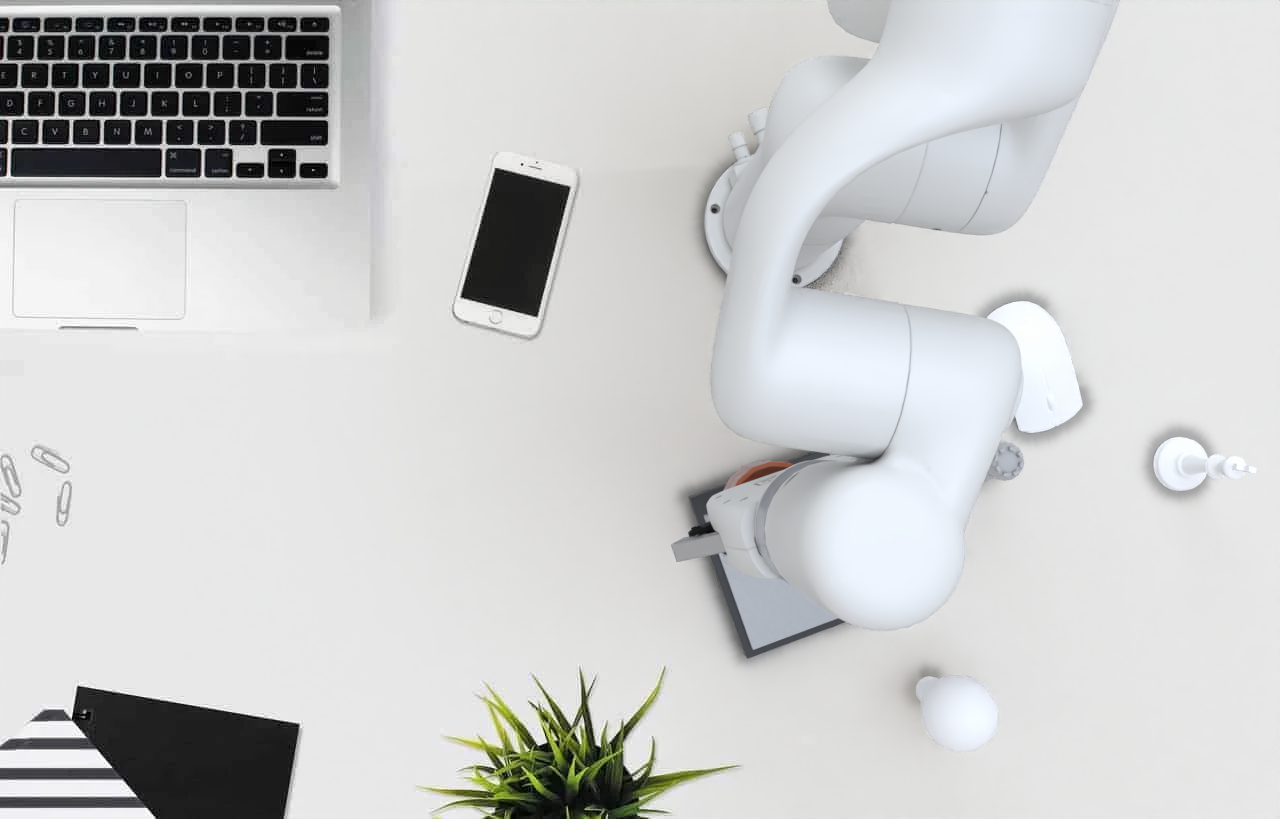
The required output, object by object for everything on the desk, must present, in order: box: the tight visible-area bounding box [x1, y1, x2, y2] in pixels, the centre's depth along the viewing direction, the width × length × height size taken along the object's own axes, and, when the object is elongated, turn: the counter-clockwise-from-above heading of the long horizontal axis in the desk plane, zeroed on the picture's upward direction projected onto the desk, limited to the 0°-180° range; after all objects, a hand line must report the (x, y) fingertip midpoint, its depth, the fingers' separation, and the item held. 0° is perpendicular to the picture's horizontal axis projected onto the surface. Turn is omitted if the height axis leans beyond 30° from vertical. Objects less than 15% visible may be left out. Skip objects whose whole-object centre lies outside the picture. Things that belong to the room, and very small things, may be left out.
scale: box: [688, 451, 846, 659], centre depth 88 cm, size 15×13×2 cm
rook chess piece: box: [983, 441, 1026, 483], centre depth 87 cm, size 4×4×8 cm
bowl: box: [723, 459, 793, 491], centre depth 72 cm, size 7×7×5 cm
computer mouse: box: [986, 300, 1084, 434], centre depth 90 cm, size 7×12×2 cm, turn 23°
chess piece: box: [1152, 436, 1257, 492], centre depth 87 cm, size 5×5×10 cm
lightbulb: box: [915, 674, 1000, 753], centre depth 85 cm, size 6×6×11 cm
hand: (766, 506), depth 73 cm, fingers closed on bowl, 6 cm apart
